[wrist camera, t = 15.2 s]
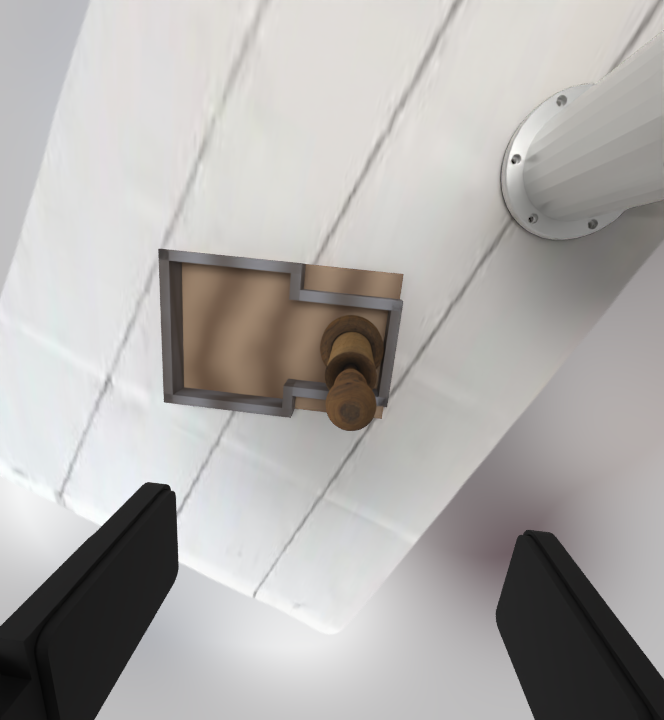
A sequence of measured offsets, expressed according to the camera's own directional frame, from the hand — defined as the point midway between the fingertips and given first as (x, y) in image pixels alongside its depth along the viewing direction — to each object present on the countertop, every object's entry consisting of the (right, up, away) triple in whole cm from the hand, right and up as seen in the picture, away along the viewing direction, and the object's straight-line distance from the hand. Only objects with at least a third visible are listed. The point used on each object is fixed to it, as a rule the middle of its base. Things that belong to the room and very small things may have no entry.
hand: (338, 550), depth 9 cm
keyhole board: (-6, +8, +28) cm, 29 cm away
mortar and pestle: (+2, +7, +27) cm, 28 cm away
